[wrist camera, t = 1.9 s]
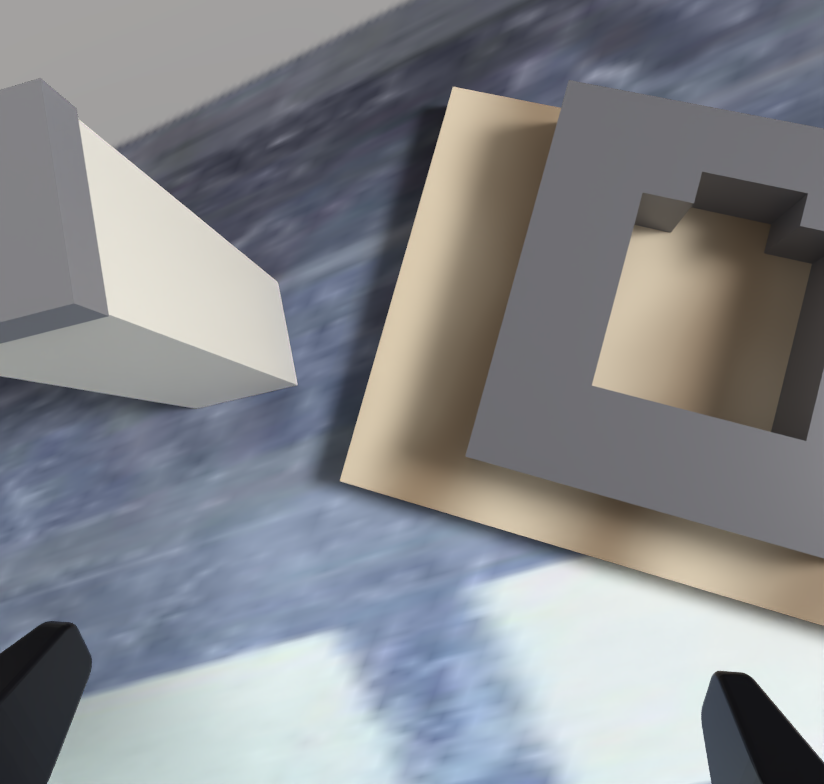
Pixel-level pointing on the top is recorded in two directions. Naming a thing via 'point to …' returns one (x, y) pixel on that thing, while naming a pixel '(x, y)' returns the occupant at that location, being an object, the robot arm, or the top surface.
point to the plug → (121, 274)
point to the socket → (593, 300)
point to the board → (616, 370)
